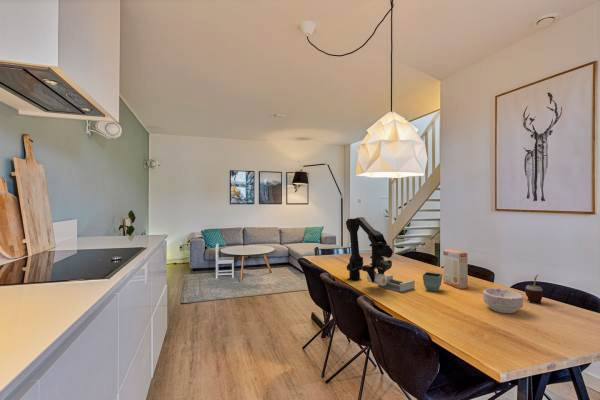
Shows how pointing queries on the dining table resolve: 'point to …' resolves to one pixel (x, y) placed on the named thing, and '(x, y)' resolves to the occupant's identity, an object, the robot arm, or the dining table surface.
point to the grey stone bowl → (503, 300)
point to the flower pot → (432, 281)
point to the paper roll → (378, 279)
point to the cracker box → (455, 268)
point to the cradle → (398, 285)
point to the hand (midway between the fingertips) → (376, 281)
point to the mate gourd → (534, 293)
